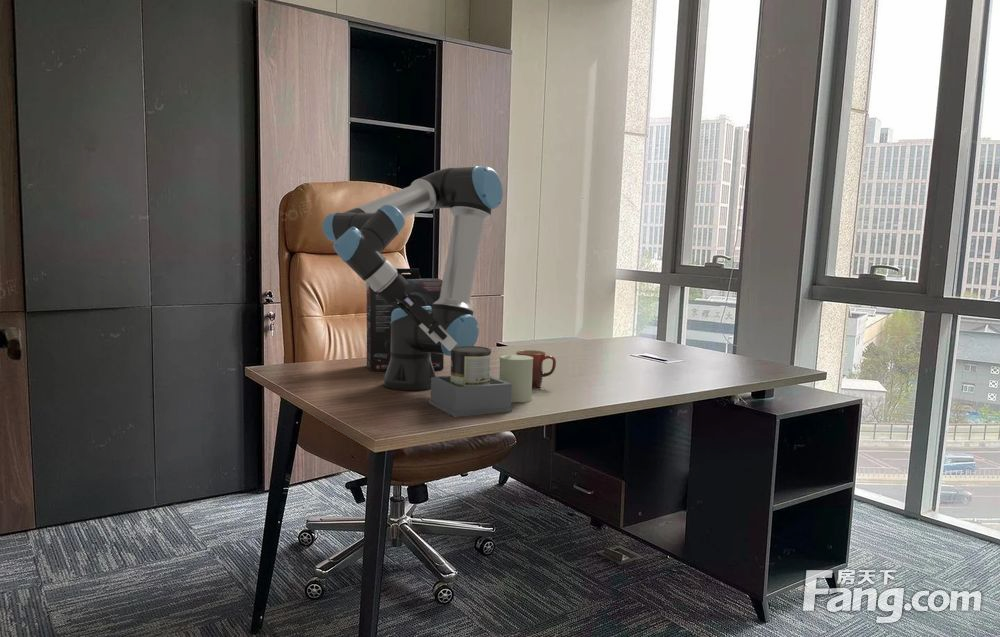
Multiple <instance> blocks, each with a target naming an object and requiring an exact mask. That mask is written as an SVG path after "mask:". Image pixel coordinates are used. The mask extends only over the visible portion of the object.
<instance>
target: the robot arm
mask: <svg viewBox="0 0 1000 637" xmlns="http://www.w3.org/2000/svg"><path fill="white" fill-rule="evenodd" d="M503 189H504V188H503V184H502V181H501V179H500V176H499V174H498V172H496V171H495V170H494V169H493V168H492V167H489V166H479V165H478V166H477V165H476V166H466V167H447V168H443V169H440V170H436V171H435V172H431V173H429V174H427V175H425V176H422V177H419V178H417V179H415V180H413V181H412V182H411V183H410V185H409V186H407V187H404V188H401V189H400V190H397V191H395V192H392V193H389V194H387V195H384V196H382V197H379V198H377V199H375V200H372V201H370V202H367V203H364V204H362V205H360V206H359V205H358V206H357V207H355V208H351V209H348V210H347V211H344V212H339V211H338V212H337V211H336V212H333V213H328V214H327V215H325V217H324V219H323V222H322V225H321V226H322V233H323V235H324V237H325V238H326V239H327V240H328V241H330V242H332V243H333V251H335V253H336V254H337V255H338V257H340V259H341V260H342V261H343V262H344V263H346V264H347V266H348V267H350V268H351V270H352V271H353V272H355V274H357V276H359V278H361V280H362V281H364V283H366V284H365V287H366V289H367V288H368V287H369V286H370V287H371V288H372V289H373V290H374V291H375V292H377V291H378V296H379V297H380V298H381V299H382V300H383V301H384V302H385V303H386V304H390V303H392V302H394V301H396V302H397V303H398V307H399V308H397V309H394V310H393V312H392V314H391V322H390V324H391V358H390V362H389V365H388V368H387V371H385V374H384V377H383V386H384V387H386V388H388V389H392V390H398V391H399V390H400V391H421V390H431V377H437V375H436V371H435V369H433V366H432V362H431V353H436V354H443V355H445V356H449V357H451V350H452V349H453V348H454V347H459V346H475V345H476V343H477V341H478V338H479V331H480V326H478V325H479V322H478V320H477V318H476V317H475V316H474V309H473V307H472V306H471V305H470V303H471V297H472V292H473V286H474V280H475V275H476V268H477V263H478V257H479V251H480V247H481V241H482V235H483V230H484V224H485V222H486V221H488V220H489V219H490V218H491V215H492V210H495V209H497V208H498V207H499V205H501V204H502V201H503V196H504V190H503ZM437 209H449V211H450V212H451V214H452V216H453V222H452V226H451V232H450V238H449V244H448V249H447V255H446V259H445V260H446V261H445V266H444V272H443V277H442V280H443V281H442V287H441V292H440V297H439V299H438V300H437V301H436V302H434V303H433V306H432V308H431V306H421V305H420V304H419V303H418V302H417V301H416V300H415V298H414V297H413V296H412V295H409V294H408V295H407V294H406V293H405V290H406V289H407V288H408V286H409V283H408V281H407V280H406V279H405V278H404V277H403V276H402V275H401V274H402V273H401V274H399V273H398V274H397V269H396V267H395V266H394V265H393V264H392V263H391V262H390V261H389V260H388V259H387V258H386V257H384V255H383V253H382V252H383V251H384V250H385V248H387V247H388V246H389V245H390V244H391V243H392V242H393V240H394V239H395V238H396V237H398V236H399V233H400V232H401V230H403V228H404V226H405V222H406V221H405V219H406V218H407V217H410V216H412V215H415V214H418V213H419V212H424V213H425V212H430V211H432V210H437Z"/></svg>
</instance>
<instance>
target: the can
mask: <svg viewBox="0 0 1000 637" xmlns="http://www.w3.org/2000/svg"><path fill="white" fill-rule="evenodd" d="M532 369H533V357H531V356H526V355H517V354H503V355H501V356H499V379H500V380H503V381H505V382H508V383H511V384H512V393H511V403H514V402H522V403H528V401H529V402H531V401H532V400H533V395H532V394H533V393H532V392H533V388H532Z"/></svg>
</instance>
